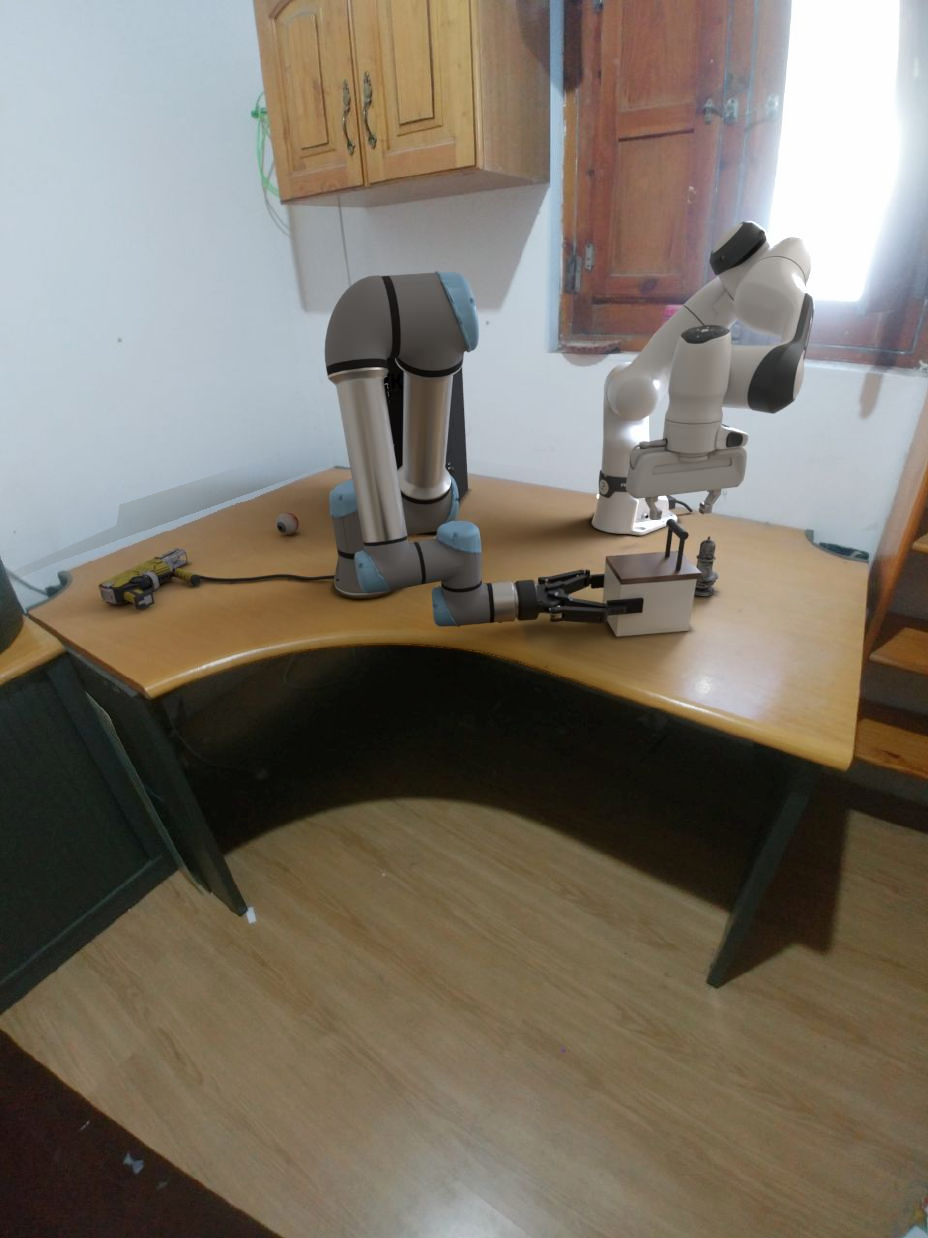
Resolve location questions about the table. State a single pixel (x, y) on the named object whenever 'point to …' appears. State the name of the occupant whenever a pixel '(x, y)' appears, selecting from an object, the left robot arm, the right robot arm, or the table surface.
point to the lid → (655, 562)
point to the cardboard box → (455, 429)
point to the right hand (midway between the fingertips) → (680, 516)
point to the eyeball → (287, 523)
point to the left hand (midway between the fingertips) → (633, 591)
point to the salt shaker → (706, 568)
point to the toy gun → (146, 580)
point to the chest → (651, 605)
